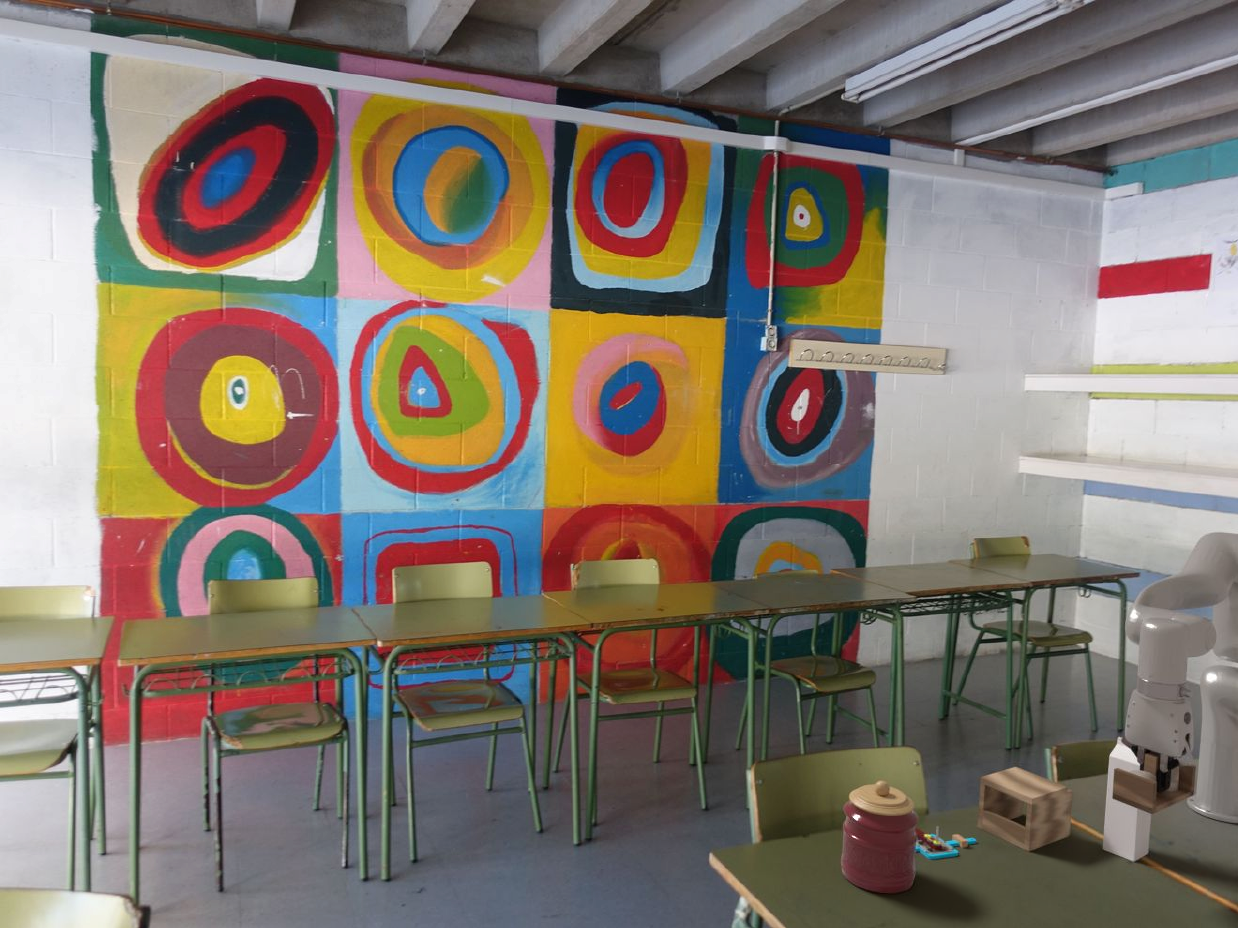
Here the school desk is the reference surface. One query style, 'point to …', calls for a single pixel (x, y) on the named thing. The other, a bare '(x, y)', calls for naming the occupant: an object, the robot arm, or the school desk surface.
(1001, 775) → the shelf
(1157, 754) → the caddy
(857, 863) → the canister
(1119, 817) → the milk
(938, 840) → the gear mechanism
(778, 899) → the school desk surface
